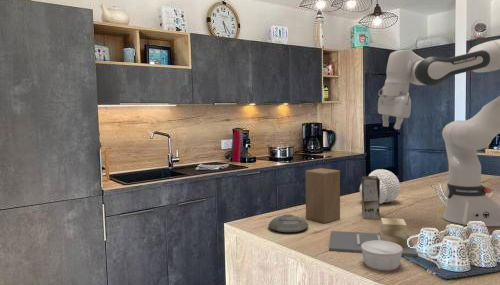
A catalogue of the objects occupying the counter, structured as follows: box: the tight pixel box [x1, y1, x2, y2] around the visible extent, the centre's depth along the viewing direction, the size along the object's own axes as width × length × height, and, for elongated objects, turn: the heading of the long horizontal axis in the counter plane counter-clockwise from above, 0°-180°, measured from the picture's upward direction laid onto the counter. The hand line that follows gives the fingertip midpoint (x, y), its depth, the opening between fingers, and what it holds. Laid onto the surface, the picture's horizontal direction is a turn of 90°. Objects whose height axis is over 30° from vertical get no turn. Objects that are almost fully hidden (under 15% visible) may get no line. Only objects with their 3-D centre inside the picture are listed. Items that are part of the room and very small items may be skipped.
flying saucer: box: [267, 213, 309, 233], centre depth 144 cm, size 15×15×6 cm
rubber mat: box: [328, 230, 419, 258], centre depth 126 cm, size 26×18×1 cm
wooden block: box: [305, 167, 341, 224], centre depth 155 cm, size 10×10×20 cm
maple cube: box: [380, 217, 408, 247], centre depth 124 cm, size 7×7×7 cm
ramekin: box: [361, 240, 403, 271], centre depth 108 cm, size 11×11×5 cm
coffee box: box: [361, 175, 381, 220], centre depth 158 cm, size 9×6×16 cm
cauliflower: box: [359, 168, 401, 205], centre depth 181 cm, size 20×18×16 cm
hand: (391, 127), depth 148 cm, fingers open, 8 cm apart
